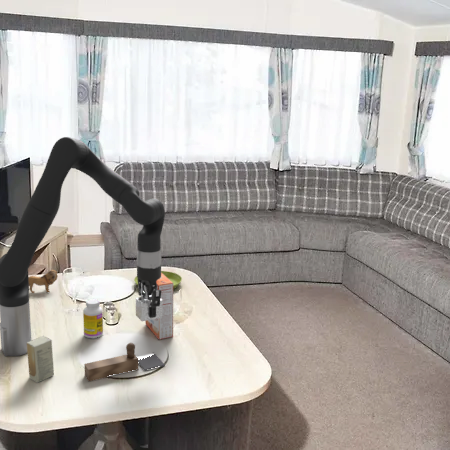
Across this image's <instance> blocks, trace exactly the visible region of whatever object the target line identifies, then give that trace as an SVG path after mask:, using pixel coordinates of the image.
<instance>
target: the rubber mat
mask: <svg viewBox="0 0 450 450" xmlns="http://www.w3.org/2000/svg"><path fill="white" fill-rule="evenodd" d="M158 356H159V355H157V354H156V353H155V354H154V355H152V356H151V357H150V356H149V357H147V358H145V359H144V358H143V359H142V360H141V359H140V360H138V362H139V364H140V365H141V366H142V367H141V366H140V365H139V364H138V365H139V366H140V367H141V369H142V368H143V369H144V370H146V371H148V370H147V369H151V368H155V367H158V366H161V367H160V368H163V367H165V366H166V364H165V362H163V361H162V359H161V358H160V357H158ZM143 369H142V370H143ZM155 369H156V368H155ZM144 370H143V371H144ZM151 370H152V369H151Z"/></svg>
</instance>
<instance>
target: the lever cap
mask: <svg viewBox="0 0 450 450" xmlns="http://www.w3.org/2000/svg"><path fill="white" fill-rule="evenodd" d="M149 297H152V295H150V296H149ZM151 301H152V299H151ZM162 308H163V300H162V299H161V300H160V306H157V307H156V317H153V318H150V317H149V302H148V300H147V299H146V296H144V297H141V296H139V297H135V316H136V318H138V319H139V321H141V322H145V321H147V320H152V319H157V318H162Z"/></svg>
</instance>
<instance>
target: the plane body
mask: <svg viewBox="0 0 450 450" xmlns="http://www.w3.org/2000/svg"><path fill="white" fill-rule="evenodd" d="M125 348H126V354H124V355H123V354H122V355H119V356H113V357H110V358H105V359H101V360H96V361H92V362H91V361H90V362H87V363H84V364H83V365H84V366H83V367H84V377H85V378H86V380H87V381H88V382H92V381H97V380H102V379H105V378H108V377H107V376H109V375H113V374H119V373H123V372H127V373H129V372H128V371H131V372H133V371H132V370H136V369H138V370H139V364H138V358H137V357H136V356H137V355H136V354H135V350H136V345H135V343H133V342H129V343H127V344H126V347H125ZM136 371H137V370H136ZM123 374H124V373H123ZM119 375H120V374H119Z"/></svg>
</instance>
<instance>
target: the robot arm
mask: <svg viewBox="0 0 450 450" xmlns="http://www.w3.org/2000/svg"><path fill="white" fill-rule="evenodd" d="M71 169H75V170H78V171H80V172H81V173H83V174H85V175H87V176H89V177H90V178H91V179H92V180H93V181H94V182H95V183H96V184H97V185H98V186H99V187H100V188H101V189H102V190H103V192H104V193H105V194H106V195H107V196H109V197H110V198H111V199H113V200H114V201H115V202H116V203H118V205H120V206H121V207H123V209H124V210H125V211H126V213H127V214H128V215H129V216H130V217H131V219H132V220H133V221H135V222H136V224H139V225H142V228H141V230H140V231H139V232H138V234H137V252H136V276H137V278H138V279H137V280H138V285H137V287H138V289H137V290H138V296H139V297H144V296H146V299H147V300H148V302H149V317H150V318H153V317H156V307H157V306H160V300H161V290H158V289H157V282H156V281H157V280H158V279H160V278H161V271H162V251H161V248H162V247H161V244H162V243H161V240H162V239H161V237H162V236H161V234H162V231H163V227H164V224H165V223H164V222H165V218H166V217H165V215H166V213H165V212H166V210H165V206H164V204H163V202H162V201H161V200H160V199H158V198H155V197H154V198H149V199H145V200H144V199H143V200H142V199H141V197H140V190H139V189H138V188H137V187H136V186H135V185H134V184H132V183H131V182H129V180H127V179H126V178H124V177H123V176H121V175H120V174H119V173H117V172H116V171H114V170H113V169H112V168H110V167H109V165H107V164H105V163H104V161H102V160H101V158H99V157H98V156H97V155H96V153H94V152H93V150H91V148H90V147H89V146H88V145H87V144H86V143H85V142H83V141H82V140H80V139H77V138H73V137H69V136H64V137H61V138H59V139H58V140H56V142H55V143H54V145H53V146H52V148H51V151H50V153H49V156H48V159H47V162H46V164H45V168H44V169H43V173H42V174H41V177H40V178H39V181H38V183H37V185H36V187H35V189H34V191H33V193H32V195H31V196H30V198H29V201H28V202H27V205H26V206H25V208H24V211H23V213H22V215H21V218H20V220H19V223H18V226H17V229H16V233H15V236H14V239H13V241H12V243H11V245H10V247H9V248H8V250H7V252H6V253H5V254H3V255H1V257H0V346H1V347H0V349H1V351H2V354H3V356H4V357H7V356H9V357H10V356H11V357H18V356H23V355H26V354H28V353H27V342H29V341H32V340H33V339H32V326H31V324H32V323H31V310H30V309H31V308H30V306H31V305H30V286H29V277H30V276H29V269H30V268H29V267H30V265H31V262H32V260H33V258H34V255H35V252H36V250H38V247H39V246H40V245H41V244H42V241H43V239H45V236H46V235H47V233H48V231H49V229H50V227H51V226H52V224H53V222H54V221H55V218H56V216H57V215H58V211H59V209H60V205H61V197H62V196H61V195H62V189H63V188H62V187H63V184H64V182H65V180H66V178H67V176H68V174H69V172H70V171H71ZM150 295H152V297H149V296H150ZM151 299H152V301H151Z"/></svg>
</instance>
